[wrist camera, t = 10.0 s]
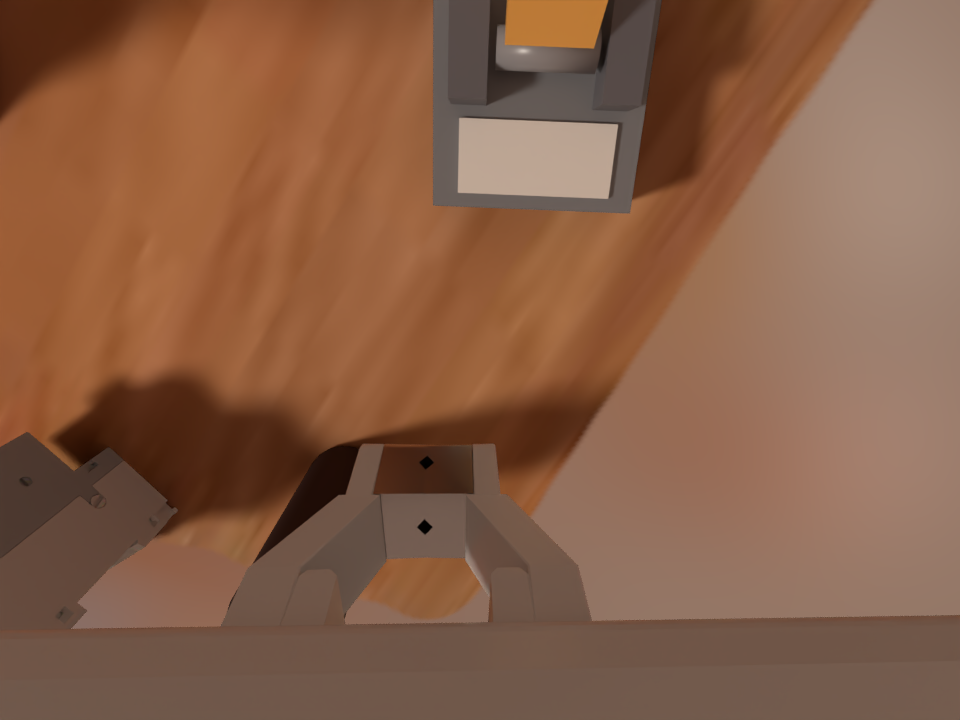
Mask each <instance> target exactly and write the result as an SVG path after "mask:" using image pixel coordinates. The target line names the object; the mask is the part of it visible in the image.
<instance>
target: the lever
mask: <svg viewBox="0 0 960 720" xmlns="http://www.w3.org/2000/svg"><path fill="white" fill-rule="evenodd" d="M607 3H608V0H507V5H506V22H505V24H497V37H496V60H495V70H501V71H525V72H549V73H572V74H595V72H596V69H597V66H598V62H599V57H600V51H601V42H602V31H601V28H600V26H601V23H602V20H603V16H604V13H605V9H606V6H607Z"/></svg>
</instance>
